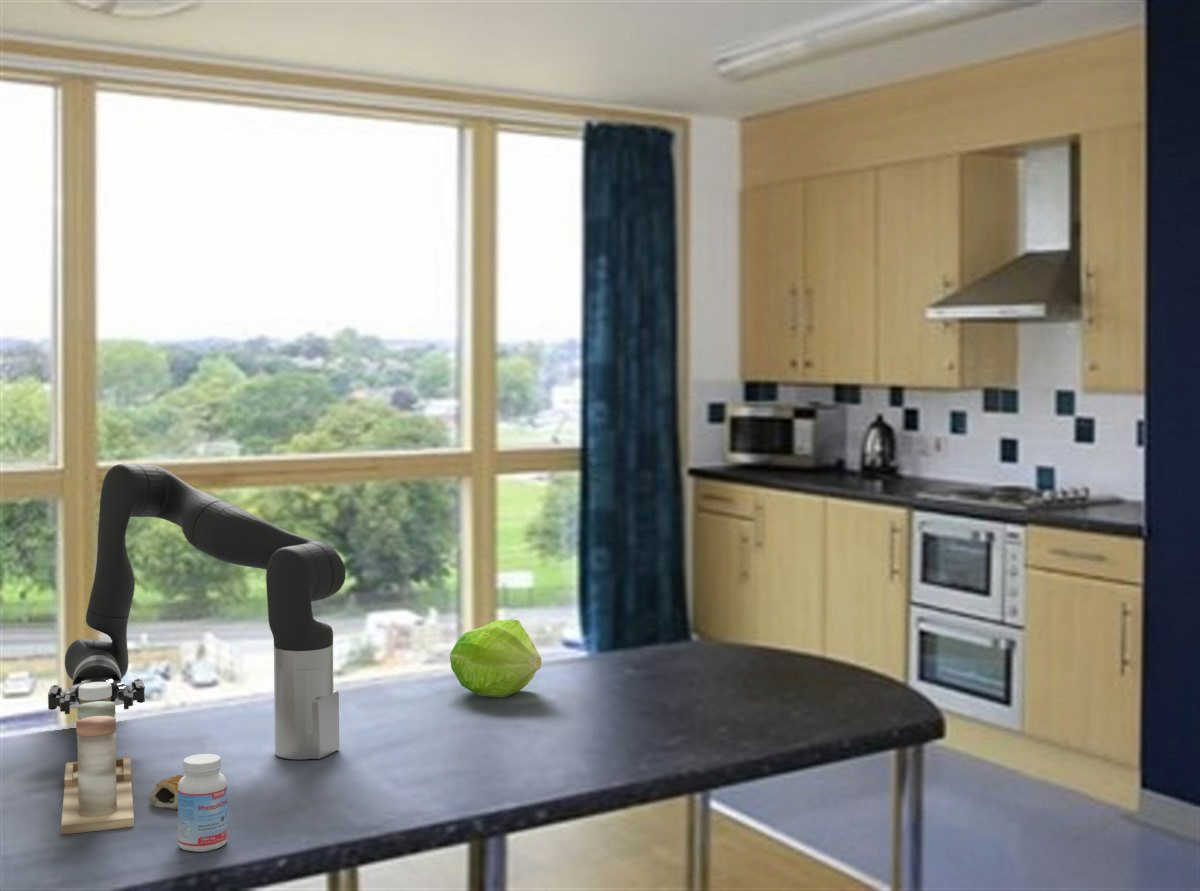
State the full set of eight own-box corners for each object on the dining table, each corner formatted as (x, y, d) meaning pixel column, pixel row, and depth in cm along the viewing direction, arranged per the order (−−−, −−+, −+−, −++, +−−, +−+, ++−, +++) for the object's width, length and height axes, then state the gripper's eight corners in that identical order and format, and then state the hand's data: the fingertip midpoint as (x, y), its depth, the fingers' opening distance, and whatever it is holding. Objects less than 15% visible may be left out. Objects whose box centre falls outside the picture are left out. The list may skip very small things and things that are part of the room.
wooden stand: (66, 777, 198) (64, 687, 197) (130, 770, 201) (128, 682, 200) (61, 834, 174) (59, 732, 173) (133, 826, 177) (132, 726, 176)
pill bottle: (205, 856, 166) (204, 768, 166) (168, 848, 169) (166, 762, 168) (237, 840, 172) (236, 755, 171) (201, 833, 174) (199, 749, 174)
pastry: (193, 788, 194) (193, 762, 194) (229, 795, 191) (229, 769, 191) (145, 806, 185) (145, 779, 185) (182, 814, 182) (181, 787, 182)
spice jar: (117, 775, 195) (114, 685, 194) (84, 781, 192) (82, 689, 191) (109, 767, 199) (107, 679, 198) (77, 773, 196) (75, 683, 195)
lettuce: (516, 713, 236) (494, 642, 235) (446, 709, 251) (425, 642, 249) (571, 679, 247) (551, 610, 245) (501, 677, 261) (481, 613, 259)
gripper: (50, 662, 216) (46, 685, 201) (142, 656, 221) (145, 677, 206) (50, 707, 217) (47, 733, 202) (142, 700, 222) (146, 725, 207)
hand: (97, 705), depth 204 cm, fingers open, 8 cm apart
